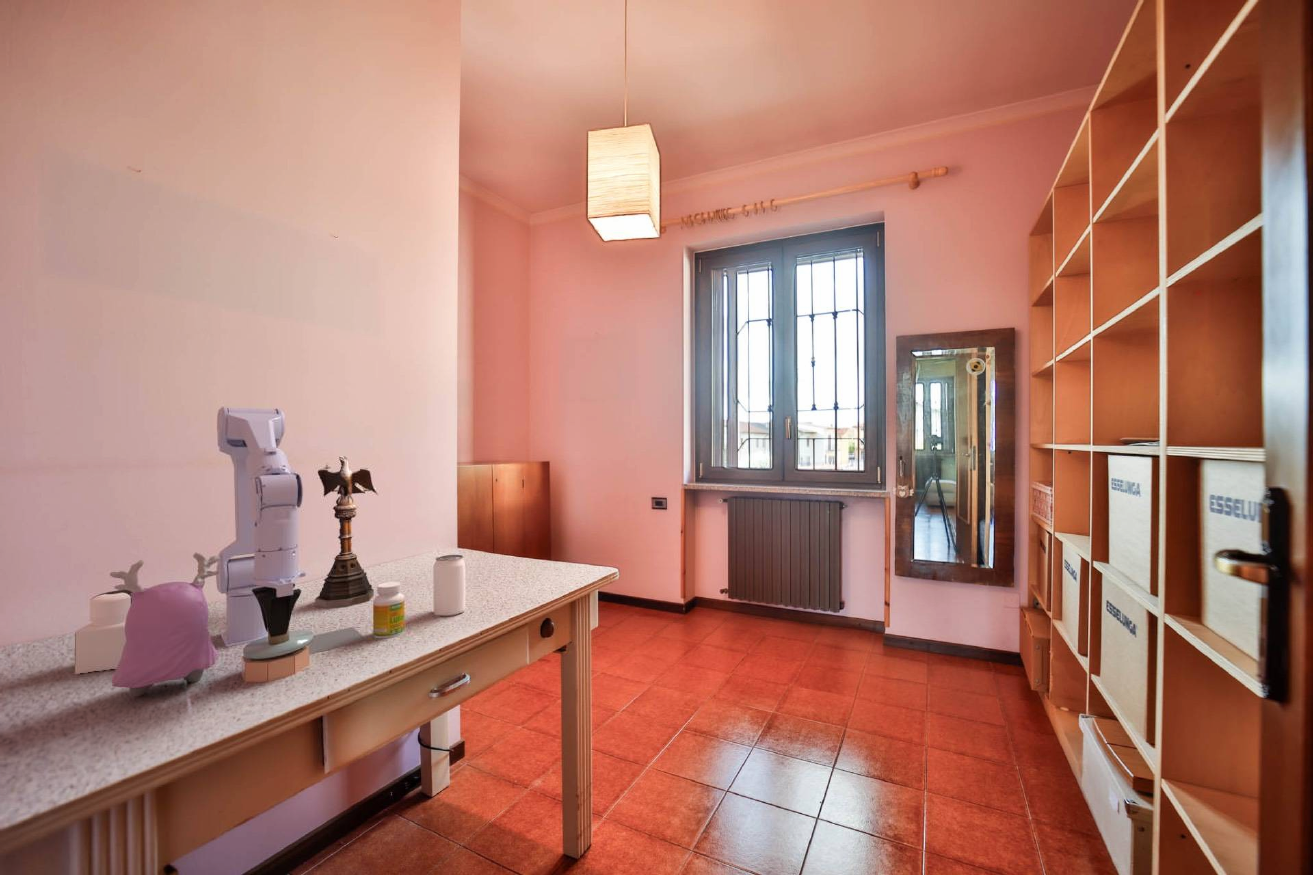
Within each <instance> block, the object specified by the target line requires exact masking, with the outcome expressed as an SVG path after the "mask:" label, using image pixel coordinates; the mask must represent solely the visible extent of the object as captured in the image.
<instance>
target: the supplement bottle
mask: <svg viewBox="0 0 1313 875" xmlns="http://www.w3.org/2000/svg"><path fill="white" fill-rule="evenodd" d="M376 589H377V590H376V592H377V594H378V595H377V596H375V597H374V598H373V603H372V604H373V605H372V606H373V607H372V610H373V611H372V613H373V614H372V617H373V619H372V620H373V622H372V628H373V629H372V631H373V632H372V634H373V635H372V637H374V638H375V639H389V638H394V637H397V636H400V635H402V634H403V633H405V624H406V623H405V620H406V619H405V614H406V612H405V602H406V601H405V595H404V594H402V593H401V582H398V581H388V582H383V583H380V584H378V585H377V587H376Z"/></svg>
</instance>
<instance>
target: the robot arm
mask: <svg viewBox="0 0 1313 875" xmlns="http://www.w3.org/2000/svg"><path fill="white" fill-rule="evenodd" d="M216 417H217V419H216V432H217V446H218V447H219V449H218V450H219V452H221V453H224V454H226V455H229V456H230V459H231V462H232V465H233V482H234V484H233V485H234V488H233V489H234V517H235V518H234V522H235V526H234V527H235V540H234V541H232V542H231V543H230V544H228V545H227V546H226V547H224V548H223V549H221V550H220V551H219V553H218V555H217V556H218V557H219V558H220V559H219V560H218V561H217V562H216V563H217V564H216V570H215V571H220V573H219V574H217V575H215V576H216V577H215V578H216V579H215V580H216V589H217V591H218V592H219V593H220V594H225V595H226V630H225V631H224V632H221V633H220V637H221V639H222V641H223V644H224V646H225V648H226V647H227V648H229V647H230V648H231V647H234V646H238V645H243V644H249V643H251V642H253V641H255V640H258V639H261V638H263V637H266V636H268V631H269V634H270V637H275V636H280V635H284V634H286V633H287V631H288V627H289V628H290V622H291V617H292V615H293V611H294V608H295V605H296V603H297V601H298V600H299V598H300V596H301V594H302V590H301V588H296V589H294V588H295V587H296V582H297V581H298V580H299V579H300V578H303V577H306V576H307V571H305V570H299V568H298V567H299V565H298V564H299V563H298V562H299V558H298V556H299V554H298V553H299V549H298V547H299V546H298V545H299V544H298V543H299V539H298V538H299V537H298V536H299V533H298V529H299V528H298V527H299V525H298V523H299V521H298V520H299V519H298V516H299V509H298V508H301V507H302V503H303V499H304V498H303V497H304V487H303V480H302V477H301V473H299V472H296V470H294V471H292V468H291V466H290V463H289V460H288V457H287V454H286V452H284V451H283V450H282V449H280V448H279V446H280V444H281V442H282V439H283V438H284V434H285V430H286V418H285V413H284V412H283V411H282V410H281V409H280V408H275V409H274V408H271V409H270V408H248V407H247V408H245V407H244V408H243V407H227V406H221V408H219V409H218V411H217V416H216ZM251 554H253V555H252V556H243V555H251ZM235 556H243V557H235ZM233 557H235V558H233ZM267 627H268V629H267Z"/></svg>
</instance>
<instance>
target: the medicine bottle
mask: <svg viewBox="0 0 1313 875" xmlns="http://www.w3.org/2000/svg"><path fill="white" fill-rule="evenodd" d="M131 593H132V592H131V591H129V590H118V589H117V590H114V591H113V590H112V591H107V592H102V593H100V594H97V595H95V596H93V597H92V598H91V599H90V600H89V621H90V622H91V623H88V624H86V625H85V626H82V627H80V628H79V629H77V630H76V631H75V633H74V674H75V675H81V674H80V673H84V674H89V673H88V672H92V671H99V672H104V671H103V670H106V671H111V670H110V669H114V670H116V669H117V666H118V664H119V662H120V660H121V656H122V652H123V648H124V645H125V643H126V637H125V622H126V617H127V613H128V611H129V608H130V606H131V603H132V599H131V595H130V594H131ZM92 673H93V672H92Z"/></svg>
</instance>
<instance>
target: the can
mask: <svg viewBox="0 0 1313 875" xmlns="http://www.w3.org/2000/svg"><path fill="white" fill-rule="evenodd" d="M432 579H433V582H432V583H433V591H432V592H433V614H434V615H436V616H439V617H444V618H445V617H453V616H452V615H454V616H457V614H458V615H460V614H459V613H461V614H462V613H464V612H465V610H466V563H465V561H464V556H463V555H461V554H447V555H440V556H437V557H436V558H435V562H434V564H433V578H432Z"/></svg>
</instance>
